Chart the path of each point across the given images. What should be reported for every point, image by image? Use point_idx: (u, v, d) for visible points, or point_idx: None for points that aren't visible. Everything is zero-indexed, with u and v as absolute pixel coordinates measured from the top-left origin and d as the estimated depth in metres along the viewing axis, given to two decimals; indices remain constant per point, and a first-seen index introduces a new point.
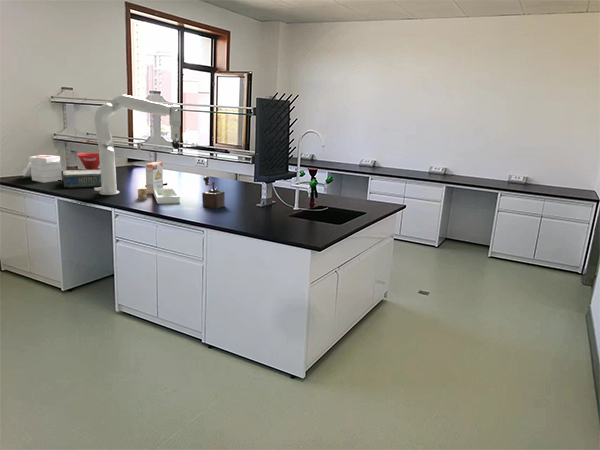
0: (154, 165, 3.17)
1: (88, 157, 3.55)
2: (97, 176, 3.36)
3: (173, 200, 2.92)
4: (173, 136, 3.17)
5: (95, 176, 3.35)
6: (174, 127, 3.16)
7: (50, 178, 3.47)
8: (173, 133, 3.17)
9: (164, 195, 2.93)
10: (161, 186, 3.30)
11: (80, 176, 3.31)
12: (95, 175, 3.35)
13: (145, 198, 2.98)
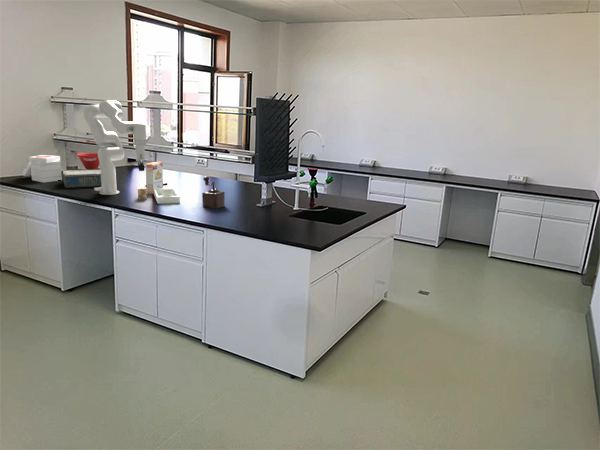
0: (154, 165, 3.17)
1: (88, 157, 3.55)
2: (97, 176, 3.36)
3: (173, 200, 2.92)
4: (137, 157, 2.88)
5: (95, 176, 3.35)
6: (138, 147, 2.87)
7: (50, 178, 3.47)
8: (137, 154, 2.87)
9: (164, 195, 2.93)
10: (161, 186, 3.30)
11: (80, 176, 3.31)
12: (95, 175, 3.35)
13: (145, 198, 2.98)
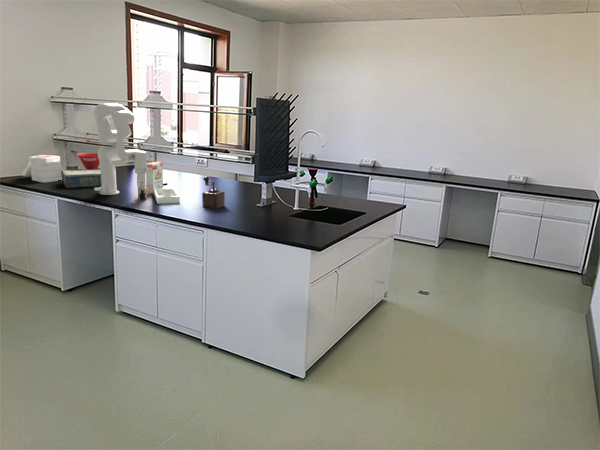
0: (154, 165, 3.17)
1: (88, 157, 3.55)
2: (98, 176, 3.36)
3: (173, 200, 2.92)
4: (139, 185, 2.92)
5: (96, 176, 3.35)
6: (140, 175, 2.91)
7: (50, 178, 3.47)
8: (138, 182, 2.92)
9: (164, 195, 2.93)
10: (161, 186, 3.30)
11: (81, 176, 3.30)
12: (96, 175, 3.35)
13: (145, 198, 2.98)
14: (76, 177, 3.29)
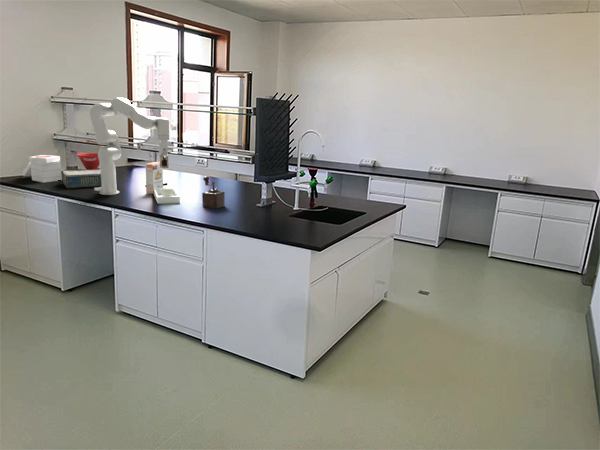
0: (154, 165, 3.17)
1: (88, 157, 3.55)
2: (99, 176, 3.36)
3: (173, 200, 2.92)
4: (161, 151, 2.96)
5: (97, 176, 3.36)
6: (162, 141, 2.95)
7: (50, 178, 3.47)
8: (161, 148, 2.95)
9: (164, 195, 2.93)
10: (161, 186, 3.30)
11: (82, 176, 3.30)
12: (97, 175, 3.35)
13: (167, 165, 3.02)
14: (77, 177, 3.29)
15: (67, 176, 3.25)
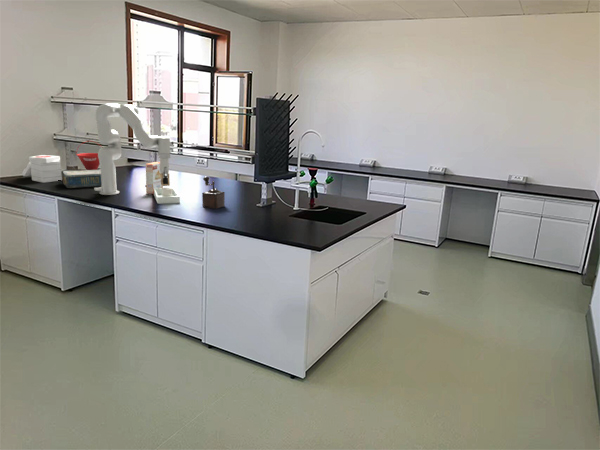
0: (154, 165, 3.17)
1: (88, 157, 3.55)
2: (99, 176, 3.36)
3: (173, 200, 2.92)
4: (162, 169, 2.99)
5: (97, 176, 3.36)
6: (163, 160, 2.98)
7: (50, 178, 3.47)
8: (162, 166, 2.98)
9: (164, 195, 2.93)
10: (161, 186, 3.30)
11: (82, 176, 3.30)
12: (97, 175, 3.35)
13: (168, 183, 3.05)
14: (77, 177, 3.28)
15: (68, 176, 3.25)
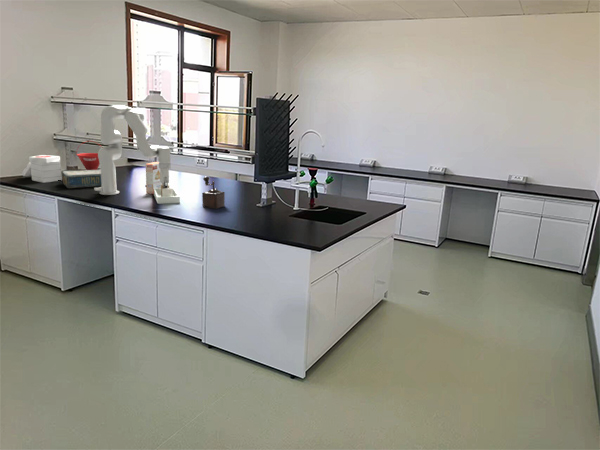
0: (154, 165, 3.17)
1: (88, 157, 3.55)
2: (100, 176, 3.36)
3: (173, 200, 2.92)
4: (162, 179, 3.01)
5: (98, 176, 3.36)
6: (163, 170, 3.00)
7: (50, 178, 3.47)
8: (162, 176, 3.00)
9: (164, 195, 2.93)
10: None
11: (83, 176, 3.30)
12: (98, 175, 3.35)
13: None
14: (78, 177, 3.28)
15: (68, 176, 3.24)
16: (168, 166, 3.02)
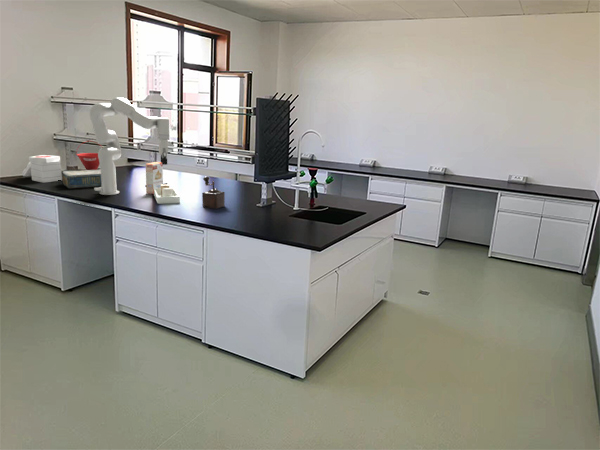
0: (154, 165, 3.17)
1: (88, 157, 3.55)
2: (100, 176, 3.37)
3: (173, 200, 2.92)
4: (161, 151, 2.96)
5: (98, 176, 3.36)
6: (162, 141, 2.95)
7: (50, 178, 3.47)
8: (161, 148, 2.96)
9: (164, 195, 2.93)
10: None
11: (84, 176, 3.30)
12: (98, 175, 3.36)
13: None
14: (79, 177, 3.28)
15: (69, 176, 3.24)
16: (167, 137, 2.97)
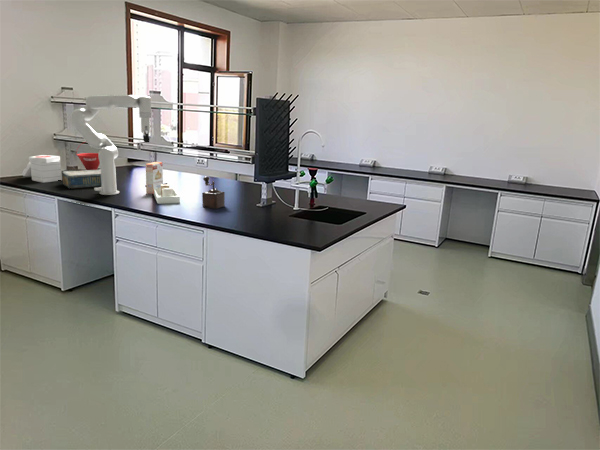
0: (154, 165, 3.17)
1: (88, 157, 3.55)
2: None
3: (173, 200, 2.92)
4: (143, 129, 3.01)
5: (99, 176, 3.36)
6: (144, 119, 3.00)
7: (50, 178, 3.47)
8: (143, 125, 3.01)
9: (164, 195, 2.93)
10: None
11: (84, 176, 3.30)
12: (99, 175, 3.36)
13: None
14: (79, 177, 3.28)
15: (70, 176, 3.24)
16: (149, 115, 3.02)
